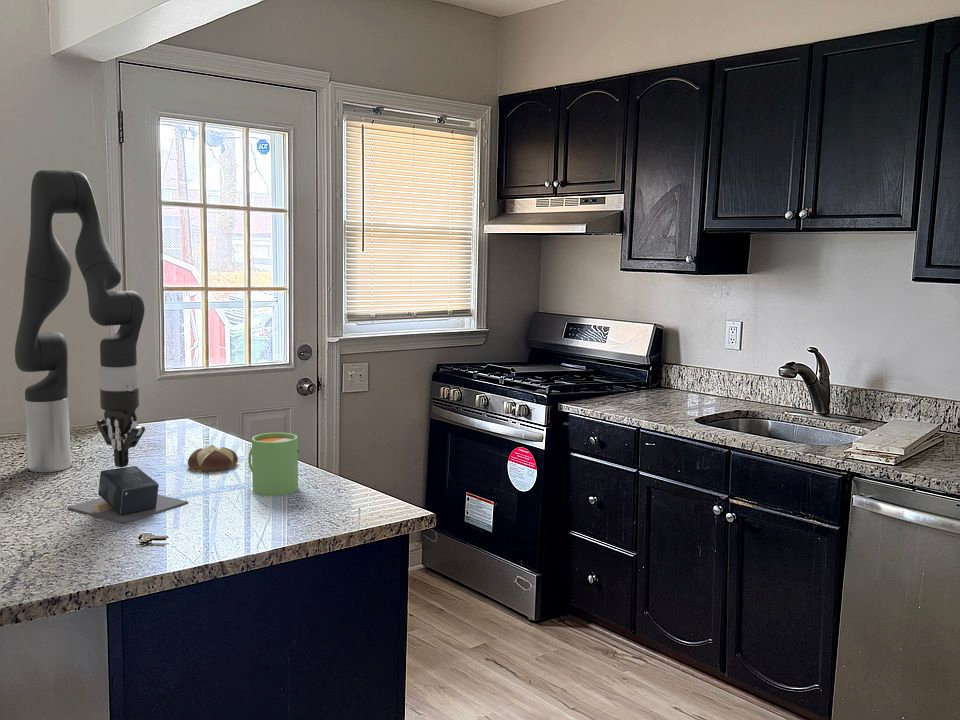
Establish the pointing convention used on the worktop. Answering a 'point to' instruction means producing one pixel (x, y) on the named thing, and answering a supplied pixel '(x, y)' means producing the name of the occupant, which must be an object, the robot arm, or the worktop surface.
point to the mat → (107, 512)
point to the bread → (212, 459)
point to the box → (128, 489)
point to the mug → (274, 463)
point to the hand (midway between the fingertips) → (121, 466)
